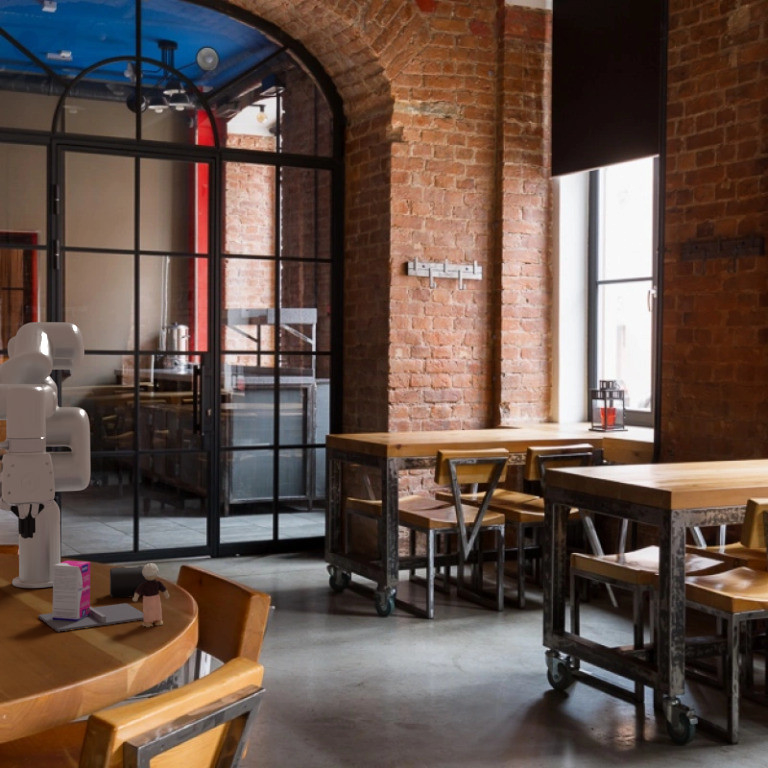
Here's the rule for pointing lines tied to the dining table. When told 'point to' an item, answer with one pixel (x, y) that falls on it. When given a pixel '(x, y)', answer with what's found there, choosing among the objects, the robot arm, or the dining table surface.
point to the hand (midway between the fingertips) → (27, 537)
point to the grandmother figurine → (151, 596)
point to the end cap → (125, 581)
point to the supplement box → (71, 590)
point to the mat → (97, 617)
